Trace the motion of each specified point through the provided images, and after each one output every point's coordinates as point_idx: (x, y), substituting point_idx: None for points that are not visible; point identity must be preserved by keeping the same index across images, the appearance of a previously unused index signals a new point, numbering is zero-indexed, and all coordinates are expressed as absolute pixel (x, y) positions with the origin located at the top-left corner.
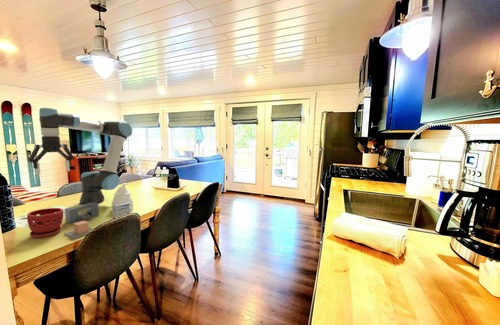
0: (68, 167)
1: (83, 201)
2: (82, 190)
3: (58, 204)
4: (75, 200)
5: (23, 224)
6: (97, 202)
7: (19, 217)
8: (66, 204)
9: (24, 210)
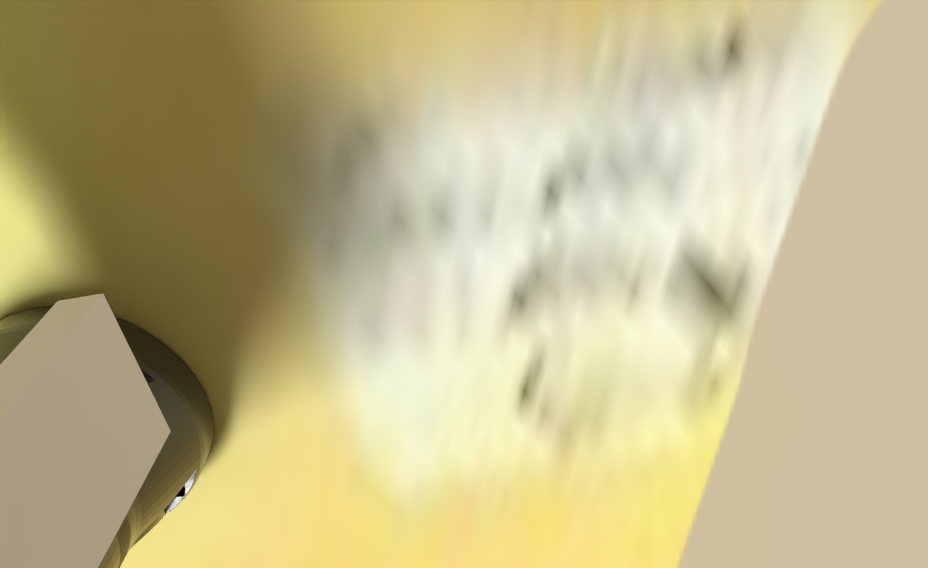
0: (11, 388)
1: (172, 387)
2: (118, 532)
3: (386, 533)
4: (235, 559)
5: (801, 83)
6: (41, 311)
7: (739, 362)
8: (328, 486)
9: (643, 543)
